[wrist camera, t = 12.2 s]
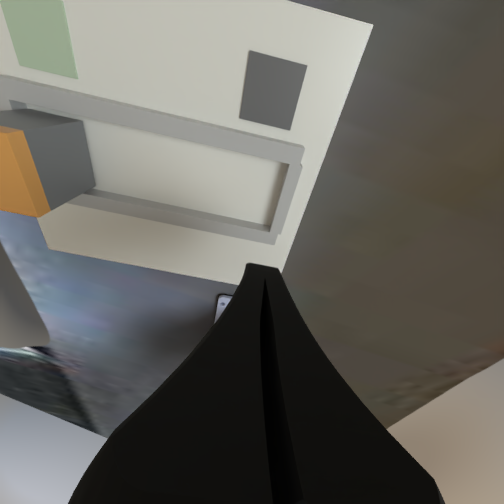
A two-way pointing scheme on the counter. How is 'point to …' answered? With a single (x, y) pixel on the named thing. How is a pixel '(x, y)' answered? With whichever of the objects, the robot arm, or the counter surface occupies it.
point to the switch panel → (184, 121)
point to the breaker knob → (41, 161)
